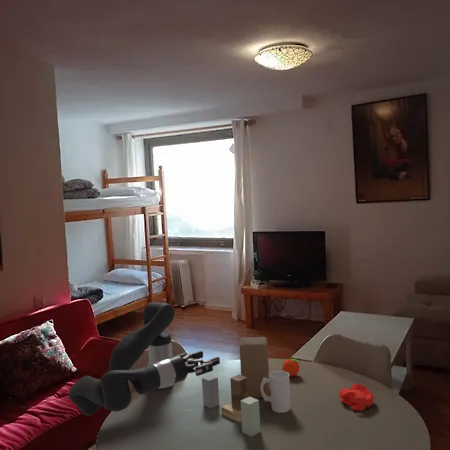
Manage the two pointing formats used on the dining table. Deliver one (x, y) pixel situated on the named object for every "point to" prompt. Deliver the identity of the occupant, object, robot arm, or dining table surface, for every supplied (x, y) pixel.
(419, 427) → the dining table surface
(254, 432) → the sage post
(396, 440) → the dining table surface
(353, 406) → the animal figurine
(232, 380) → the walnut post
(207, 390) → the grey post
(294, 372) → the clementine
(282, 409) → the mug
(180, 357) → the robot arm
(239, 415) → the oak slab
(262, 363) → the wooden block
